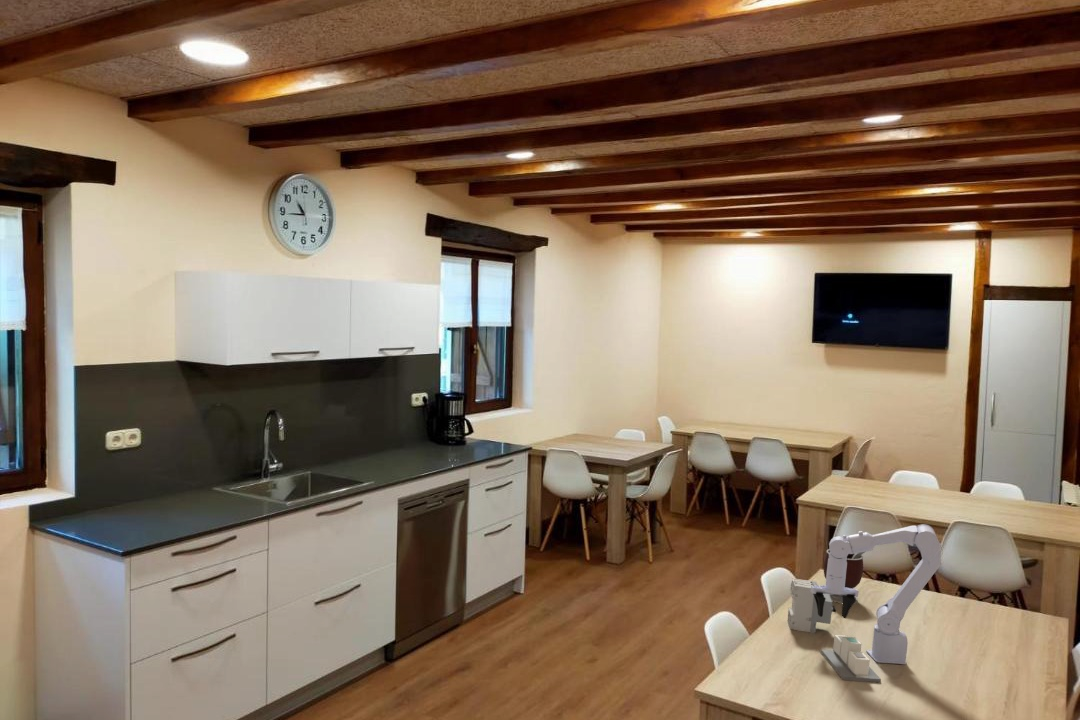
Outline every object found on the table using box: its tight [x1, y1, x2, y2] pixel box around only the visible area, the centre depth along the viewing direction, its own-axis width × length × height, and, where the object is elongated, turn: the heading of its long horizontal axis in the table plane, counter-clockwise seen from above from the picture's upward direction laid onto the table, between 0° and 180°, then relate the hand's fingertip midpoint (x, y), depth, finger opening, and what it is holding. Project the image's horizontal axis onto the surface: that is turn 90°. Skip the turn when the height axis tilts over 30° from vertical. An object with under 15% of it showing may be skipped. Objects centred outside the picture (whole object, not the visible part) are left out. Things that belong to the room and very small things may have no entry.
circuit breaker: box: [787, 578, 837, 634], centre depth 262 cm, size 8×14×15 cm, turn 78°
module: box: [840, 636, 862, 664], centre depth 235 cm, size 4×4×7 cm
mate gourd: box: [822, 548, 868, 604], centre depth 293 cm, size 16×14×20 cm
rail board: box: [820, 634, 882, 683], centre depth 235 cm, size 11×18×6 cm, turn 0°
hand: (831, 616), depth 248 cm, fingers open, 7 cm apart
